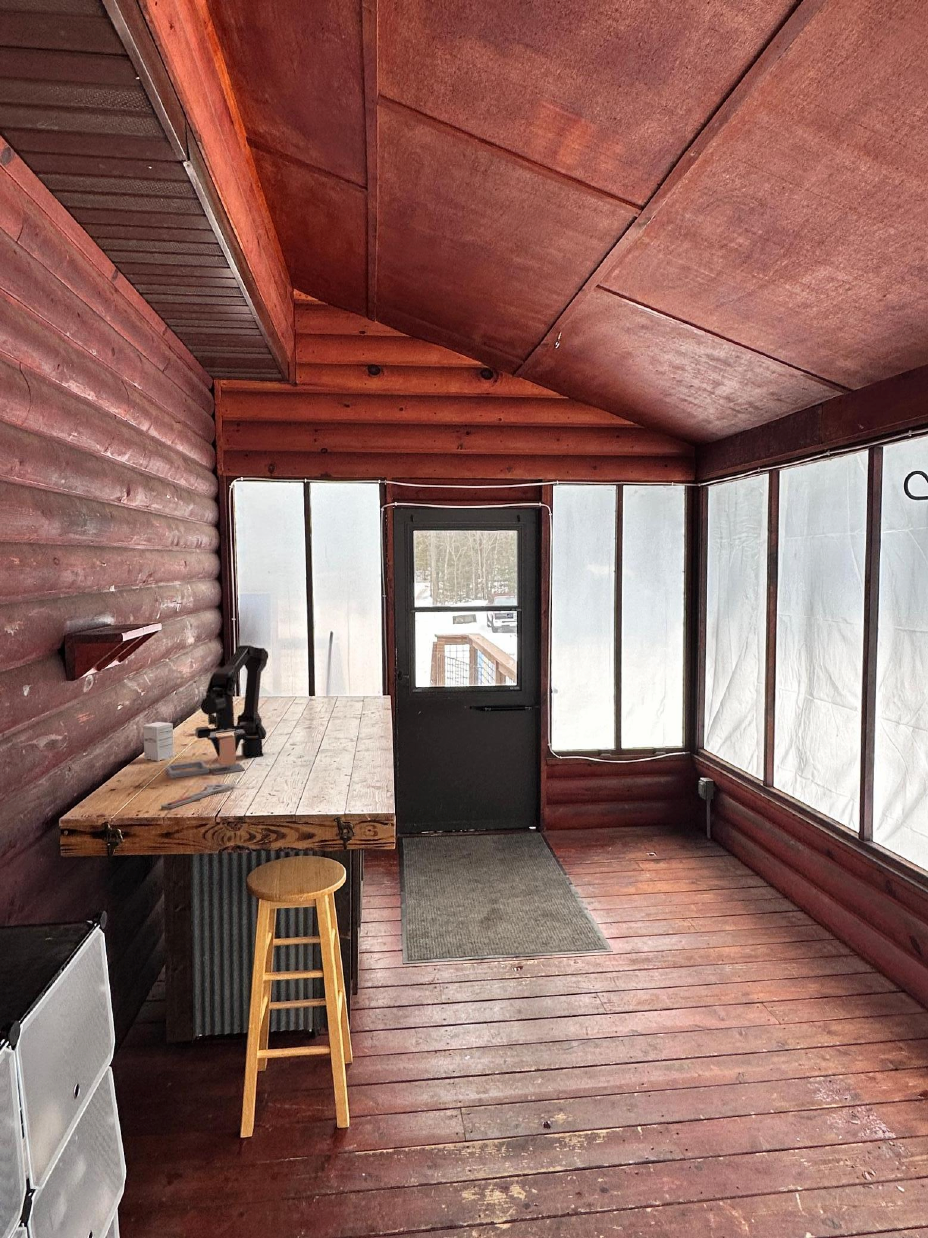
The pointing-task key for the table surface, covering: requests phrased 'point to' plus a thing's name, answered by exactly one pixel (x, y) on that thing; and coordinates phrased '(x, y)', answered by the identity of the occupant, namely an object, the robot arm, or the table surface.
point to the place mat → (226, 769)
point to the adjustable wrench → (201, 794)
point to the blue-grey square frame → (187, 773)
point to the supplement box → (158, 741)
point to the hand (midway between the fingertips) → (226, 754)
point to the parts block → (226, 750)
